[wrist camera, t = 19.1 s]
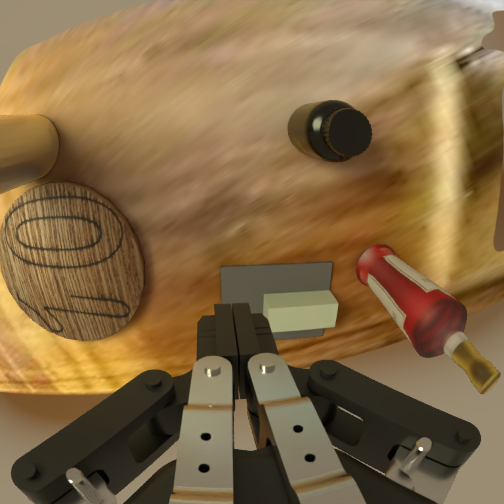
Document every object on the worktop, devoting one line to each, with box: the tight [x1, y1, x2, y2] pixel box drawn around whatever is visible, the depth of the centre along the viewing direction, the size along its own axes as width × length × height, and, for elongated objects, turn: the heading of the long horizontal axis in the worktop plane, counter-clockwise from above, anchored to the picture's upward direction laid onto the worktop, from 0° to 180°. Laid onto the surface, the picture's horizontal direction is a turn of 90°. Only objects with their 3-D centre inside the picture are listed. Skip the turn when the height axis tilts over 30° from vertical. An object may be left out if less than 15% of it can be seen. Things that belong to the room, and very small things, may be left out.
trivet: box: [0, 182, 145, 341], centre depth 41 cm, size 25×25×2 cm
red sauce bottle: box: [356, 245, 500, 394], centre depth 34 cm, size 7×7×28 cm
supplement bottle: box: [288, 100, 372, 162], centre depth 33 cm, size 7×7×12 cm
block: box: [263, 290, 339, 332], centre depth 46 cm, size 4×4×10 cm
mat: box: [220, 262, 333, 340], centre depth 47 cm, size 16×13×1 cm
